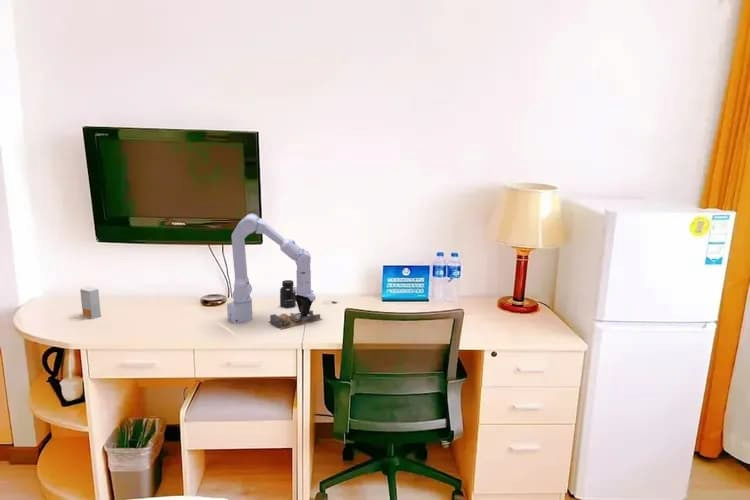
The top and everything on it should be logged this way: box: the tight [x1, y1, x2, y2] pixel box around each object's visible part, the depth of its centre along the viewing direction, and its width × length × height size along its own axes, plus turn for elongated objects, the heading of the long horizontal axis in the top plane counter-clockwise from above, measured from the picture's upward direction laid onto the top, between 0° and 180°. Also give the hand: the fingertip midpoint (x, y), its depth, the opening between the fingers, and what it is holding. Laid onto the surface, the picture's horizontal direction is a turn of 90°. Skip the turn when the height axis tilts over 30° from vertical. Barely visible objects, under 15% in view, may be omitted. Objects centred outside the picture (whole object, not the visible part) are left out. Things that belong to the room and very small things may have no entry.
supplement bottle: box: [279, 279, 297, 309], centre depth 244 cm, size 7×7×12 cm
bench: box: [267, 309, 324, 331], centre depth 227 cm, size 20×11×4 cm, turn 128°
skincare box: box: [79, 286, 102, 320], centre depth 229 cm, size 6×4×12 cm
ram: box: [290, 304, 311, 322], centre depth 228 cm, size 7×4×6 cm, turn 128°
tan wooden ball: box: [278, 313, 290, 324], centre depth 224 cm, size 4×4×4 cm
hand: (304, 312), depth 229 cm, fingers closed on ram, 3 cm apart
